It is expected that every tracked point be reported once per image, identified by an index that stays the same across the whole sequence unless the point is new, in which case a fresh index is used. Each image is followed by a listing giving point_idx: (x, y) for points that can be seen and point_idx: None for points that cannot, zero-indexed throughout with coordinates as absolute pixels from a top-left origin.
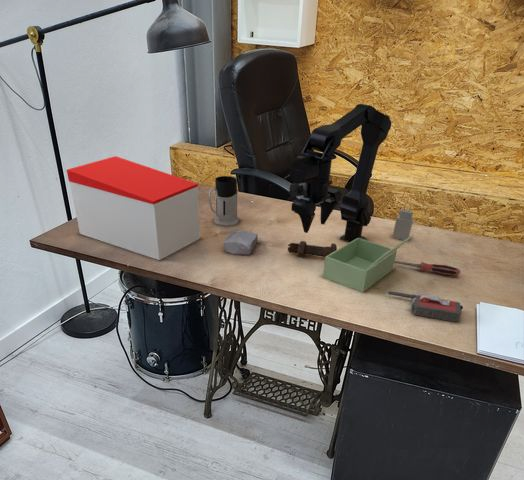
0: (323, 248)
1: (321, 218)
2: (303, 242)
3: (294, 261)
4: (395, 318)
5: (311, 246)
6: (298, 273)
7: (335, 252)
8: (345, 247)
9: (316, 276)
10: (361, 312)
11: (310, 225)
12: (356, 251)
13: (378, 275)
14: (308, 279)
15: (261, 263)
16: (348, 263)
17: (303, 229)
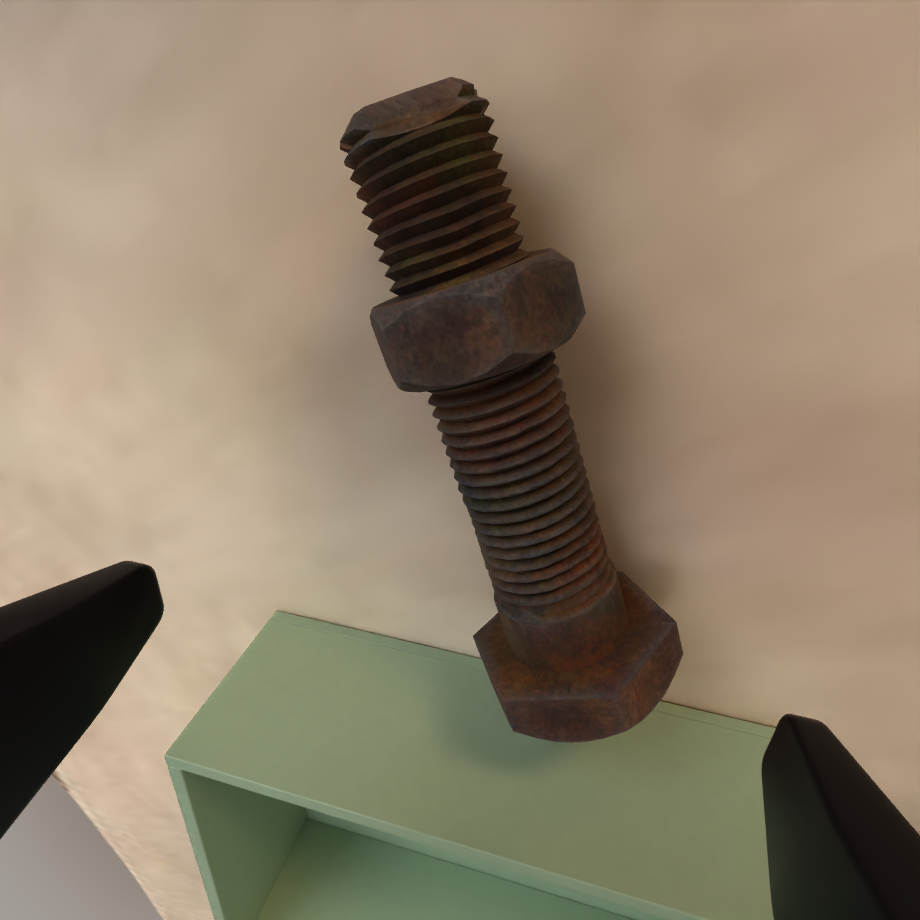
0: (514, 600)
1: (824, 864)
2: (459, 348)
3: (318, 306)
4: None
5: (483, 460)
6: (178, 448)
7: (312, 806)
8: (514, 853)
9: (249, 573)
10: (155, 813)
11: (10, 805)
12: None
13: (461, 906)
14: (174, 542)
15: (11, 14)
16: None
17: (67, 582)
